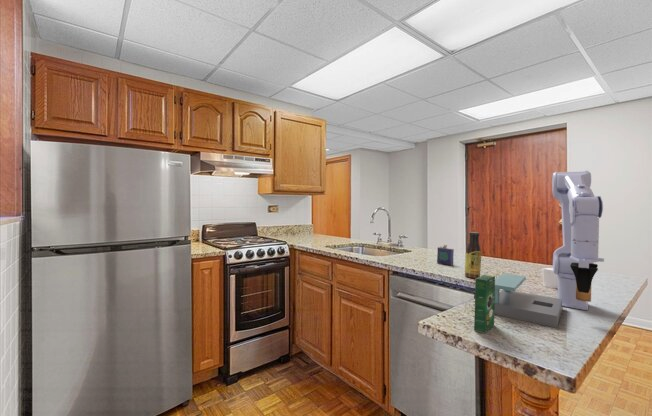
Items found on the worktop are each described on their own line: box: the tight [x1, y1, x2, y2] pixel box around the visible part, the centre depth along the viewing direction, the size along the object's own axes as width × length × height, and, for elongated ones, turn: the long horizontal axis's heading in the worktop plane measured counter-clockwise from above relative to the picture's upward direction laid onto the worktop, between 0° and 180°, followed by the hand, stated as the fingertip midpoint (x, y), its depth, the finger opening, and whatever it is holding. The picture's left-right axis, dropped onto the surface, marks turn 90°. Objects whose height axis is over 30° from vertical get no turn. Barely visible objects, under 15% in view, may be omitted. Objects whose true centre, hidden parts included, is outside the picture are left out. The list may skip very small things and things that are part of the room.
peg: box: [576, 284, 592, 303], centre depth 84 cm, size 3×3×8 cm
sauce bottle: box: [464, 231, 482, 279], centre depth 136 cm, size 6×6×20 cm
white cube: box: [541, 267, 558, 290], centre depth 122 cm, size 7×7×7 cm
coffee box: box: [473, 274, 496, 334], centre depth 78 cm, size 8×3×13 cm, turn 137°
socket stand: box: [494, 273, 563, 328], centre depth 92 cm, size 20×16×8 cm
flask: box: [436, 244, 455, 267], centre depth 166 cm, size 9×3×11 cm, turn 37°
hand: (583, 290), depth 84 cm, fingers closed on peg, 3 cm apart
